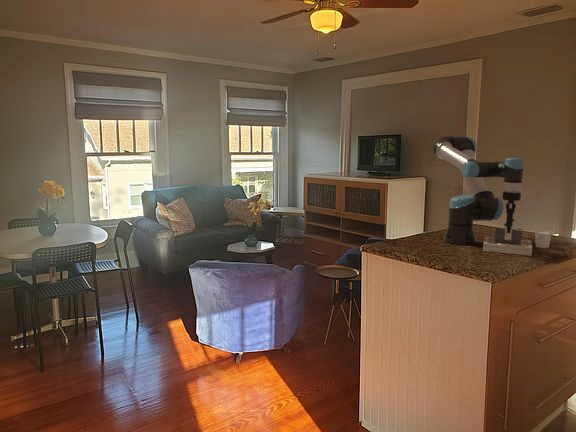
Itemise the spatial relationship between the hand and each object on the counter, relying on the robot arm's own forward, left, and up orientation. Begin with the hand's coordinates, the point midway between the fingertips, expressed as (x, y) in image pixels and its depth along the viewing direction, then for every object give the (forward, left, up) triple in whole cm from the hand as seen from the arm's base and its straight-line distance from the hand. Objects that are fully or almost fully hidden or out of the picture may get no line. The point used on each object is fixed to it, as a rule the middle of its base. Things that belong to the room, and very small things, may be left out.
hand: (508, 237), depth 211 cm
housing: (0, 0, -6) cm, 6 cm away
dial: (0, 0, -4) cm, 4 cm away
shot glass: (+15, +14, -6) cm, 21 cm away
